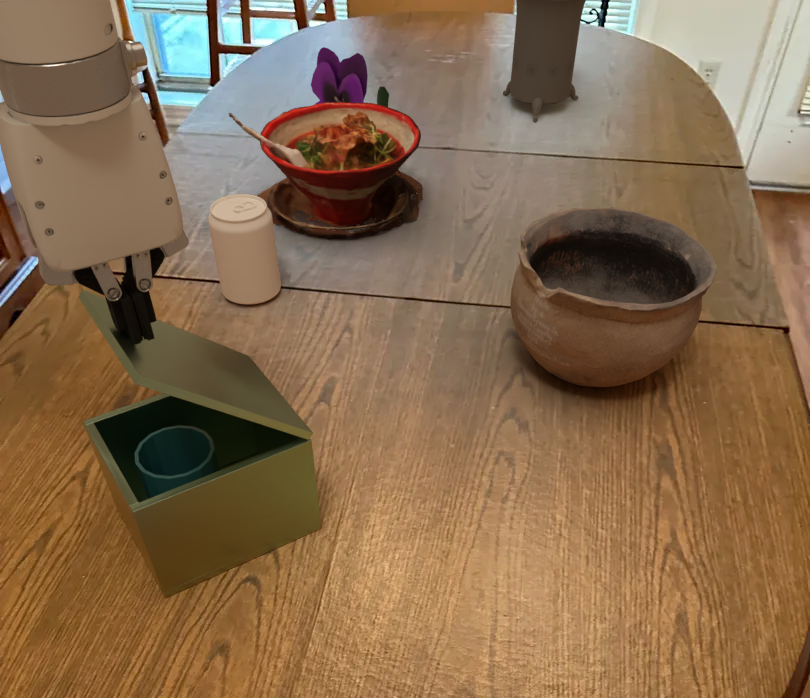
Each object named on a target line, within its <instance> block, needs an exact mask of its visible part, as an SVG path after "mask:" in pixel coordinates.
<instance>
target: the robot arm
mask: <svg viewBox="0 0 810 698" xmlns="http://www.w3.org/2000/svg"><path fill="white" fill-rule="evenodd" d="M147 65H148V56H147V52H146V49H145V47H144V45H143V43H142V42H141V41H140V40H138V41H134V42H130V41H129V40H125V41H124V40H123V39H122V38H120V36H119V33H118V29H117V24H116V20H115V16H114V12H113V8H112V3H111V0H0V91H1V94H2V97H3V101H1V102H0V151H1V154H2V157H3V161H4V165H5V169H6V173H7V176H8V179H9V183H10V186H11V190H12V192H13V195H14V199H15V202H16V205H17V208H18V212H19V214H20V217H21V220H22V223H23V226H24V228H25V231H26V234H27V236H28V238H29V240H30V242H31V245H32V246H33V247H34V248H35V249H36V251H37V262H38V273H39V276H40V277H41V278H42V280H43V282H44V283H45V284H46V285H47V286H51V287H55V286H56V287H58V286H73V285H75V284H77V285H78V284H79V285H81V286H83V287H85V288H87V289H89V290H91V291H94V292H96V293H98V294H100V295H101V296H104V298H106V302H107V305H108V308H109V311H110V314H111V317H112V320H113V323H114V325H115V327H116V329H117V331H118V332H119V333H121V332H124V331H125V332H126V333H127V334H128V336H129V337H130V339H131V340H132V342H133V343H134V345H136V344H139V343H141V341H143V338H144V339H145V340H146V339H147V340H148V341H149V340H152V339H154V334H153V330H152V327H151V323H152V322H155V321H157V320H156V319H157V316H156V312H155V309H154V304H153V300H152V297H151V293H150V291H151V290H152V288H153V285H154V283H153V282H154V281H153V279H154V277H155V276H156V274H157V272H158V271H159V269H160V267H161V266H162V264H163V263H164V261H165V259H166V258H170V257H172V256H174V255H176V254H177V253H179V252H180V251H182V250H185V249H186V248H187V247H188V245H189V241H190V240H189V239H188V237H187V235H186V232H185V230H184V220H183V214H182V208H181V204H180V200H179V196H178V192H177V189H176V186H175V182H174V179H173V175H172V172H171V168H170V166H169V161H168V160H167V156H166V153H165V150H164V147H163V145H162V141H161V138H160V135H159V133H158V129H157V127H156V124H155V122H154V119H153V117H152V114H151V112H150V110H149V107H148V104H147V102H146V100H145V98H144V95H143V94H142V91H141V90H140V89H139V87H138V85H136V84H135V83H133V80H132V77H133V71H137V70H138V68H140V67H145V66H147ZM119 259H122V262H123V270H124V274H123V276H121V280H122V281H119V279H118V278H117V277H116V276H115V274H114V272H113V270H112V268H111V266H110V264H109V262H112V261H116V260H119Z"/></svg>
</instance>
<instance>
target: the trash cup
mask: <svg viewBox="0 0 810 698" xmlns="http://www.w3.org/2000/svg"><path fill="white" fill-rule="evenodd" d="M134 454H135V464H136V467H137V470H138V473H139V476H140V478H141V481H142V484H143V487H144V490H145V493H146V496H147V498H148V499H149V498H152V497H154V496H157V495H159V494H162V493H165V492H167V491H170V490H172V489H175V488H177V487H180V486H182V485H185V484H187V483H190V482H192V481H195V480H197V479H200V478H202V477H205V476H207V475H210V474H212V473H215V472H217V471H220V467H219V463H218V459H217V454H216V450H215V446H214V442H213V439H212V438H211V437H210V436H209V435H208V434H207V433H206V431H203V430H201V429H199V428H196V427H193V426H182V425H177V426H172V427H166V428H162V429H160V430H158V431H156V432H153V433H151V434H149V435H148V436H147V437H146V438H145V439H144V440H142V441H141V442H140V443H139V445H138V447H137V449H136V451H135V453H134Z"/></svg>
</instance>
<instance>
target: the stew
mask: <svg viewBox="0 0 810 698" xmlns="http://www.w3.org/2000/svg"><path fill="white" fill-rule="evenodd" d="M228 116H229V118H232V121H234V122H235V123H236V125H238V126H239V127H240V128H241V130H243V131H244V132H245V133H246V134H248V135H249V136H251V137H253V138H254V139H256V140H257V141H259V143H260V144H259V145H260V148H261V151H262V152H263V153H264V154H265V156H266V157H267V158H268V159H269V160H271V161H272V162H273V164H274V165H275V166H276V167H277V168H278V169H279V171H280V172H281V173H282V174H283V175H284V176H285V178H283V179H282V180H280V181H278V182H275V184H273V185H270V187H268V188H266V189H265V190H263V191H261V192H260V193H257V195H256V196H258V197H260V198H262V199H263V200H264V201H265V202H266V204H267V207H268V208H269V210H270V211H271V214H272V219H273V225H275V226H283V227H284V228H286V229H287V230H289V231H291V232H294V233H297V234H300V235H305V236H307V237H310V238H316V239H320V240H321V239H322V240H328V241H333V240H337V241H338V240H339V241H341V240H343V241H344V240H358V239H362V238H365V237H372V236H375V235H378V234H380V233H385V232H388V231H391V230H393V229H397V228H400V227H402V226H403V225H404V224H410V222H411V223H415V222H416V221H417V220H418V218H419V215H420V205H419V204H420V203H421V201H423V200H424V199H423V192H424V191H423V190H424V187H423V186H424V185H423V184H422V183H421V182H419V180H417V179H416V178H414V177H413V176H411V175H410V174H407V173H405V172H403V171H400V170H399V169H400V168H401V167H402V166H403V165H404V164H405V162H406V161H408V159H409V158H410V157H411V156H412V155H413V154H414V153H415V152H416V150H418V148H419V147H420V143H421V138H422V133H421V129H420V128H419V126H418V125H417V123H416V121H414V119H413V118H412V117H411V116H410V115H408V114H406V113H404V112H403V111H400V110H398V109H395V108H392V107H389V106H388V107H386V106H383V105H378V104H377V103H373V102H364V103H345V102H337V103H334V102H333V103H330V102H326V103H320V104H316V103H314V104H312V105H306V106H298V107H293V108H291V109H289V110H288V111H283V112H282V113H280V114H278V115H277V116H276V117H274V118H272V119H271V120H269V121H268V122H267V123H266V124H265V125H264V126H263V128H262V130H261V132H260V133H258V131H257V130H254V129H253V128H251V127H247V126H246V125H245V124H244V123H242V121H241V120H240V119H238V118H237V116H235V115H233V113H232V112H229V113H228ZM412 196H413V198H414V199H412ZM299 211H300V212H304V215H307V216H309V217H307V218H306V219H307V220H308V221H310V222H313V221H317V222H318V221H319V222H320V223H324V224H325V225H326V224H327V225H330V226H324V225H318V224H310V223H309V222H301V221H300V220H297V219H296V217H294V215H296V216H300V214H298V213H297V214H296V213H295V212H299ZM371 219H372V220H375V222H374V223H369V224H366V223H367V222H368V221H370V220H371ZM414 221H415V222H414ZM353 230H354V231H353ZM351 231H352V232H351Z"/></svg>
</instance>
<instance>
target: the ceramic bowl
mask: <svg viewBox="0 0 810 698" xmlns="http://www.w3.org/2000/svg"><path fill="white" fill-rule="evenodd" d="M519 238H520V250H519V251H518V252H517V254H518V258H519V263H518V265H517V268H516V270H515V274H514V278H513V281H512V285H511V289H510V302H509V303H510V305H509V308H510V314H511V317H512V322H513V326H514V330H515V332H516V334H517V336H518V338H519V339H520V341H521V342H522V344H523V346H524V348H525V349H526V350H527V352H528V353H529V354H530V356H532V359H533V360H534V361H535V362H537V364H539V366H541V367H542V368H543V369H544V370H546V371H547V372H548V373H550V374H551V375H553V376H555V377H557V378H558V379H560V380H562V381H565V382H567V383H570V384H573V385H576V386H582V387H591V388H610V387H617V386H618V387H619V386H622V385H627V384H629V383H632V382H636V381H639V380H642V379H644V378H645V377H647V376H649V375H651V374H653V373H655V372H656V371H658V370H660V369H661V368H663V367H664V366H666V365H667V364H669V363H670V362H671V361H672V359H674V357H675V356H677V355H678V354H679V353H680V352H681V351H682V350H683V349H684V348H685V347H686V345H687V344H688V342H689V341H690V339H691V337H692V335H693V334H694V332H695V330H696V329H697V326H698V325H699V321H700V317H701V313H702V309H703V296H704V295H706V293H707V291H708V290H709V288H710V287H711V286H712V284H713V283H714V281H715V277H716V275H717V263H716V261H715V258H714V257H713V255H712V254H711V252H710V251H709V250H708V249H707V247H706V246H705V245H703V244H702V243H701V242H700V241H699V240H697V239H695V238H694V237H693V236H692V235H690V234H689V233H688V232H686V231H685V230H684V229H682V228H681V227H680V226H678V225H676V224H674V223H671V222H669V221H666V220H663V219H660V218H656V217H654V216H650V215H647V214H646V213H644V212H640V211H633V210H626V209H622V208H617V207H613V206H612V207H599V208H597V207H596V208H589V207H571V208H567V209H565V210H561V211H557V212H552V213H549V214H547V215H546V216H544V217H543V218H539V219H537V220H534V221H532V222H531V223H530V224H529V225H528V226H527V227H526V228H525V229H524V230H523V232H522V233H521V234H520V236H519Z"/></svg>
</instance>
